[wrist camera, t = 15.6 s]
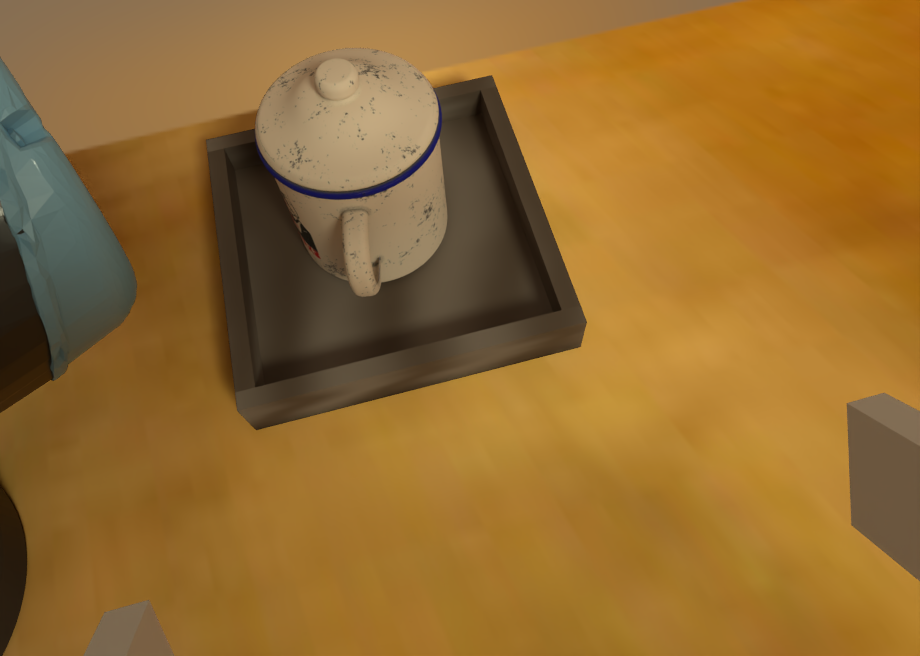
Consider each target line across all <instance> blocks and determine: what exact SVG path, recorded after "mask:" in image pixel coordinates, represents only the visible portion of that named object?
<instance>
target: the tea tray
mask: <svg viewBox="0 0 920 656" xmlns="http://www.w3.org/2000/svg"><path fill="white" fill-rule="evenodd" d="M433 89H434V91H435V93H436V95H437V97H438V99H439V102H440V106H441V111H442V127H441V132H440V136H439V139H440V148H441V157H442V167H443V176H444V185H445V195H446V204H447V227H446V231H445V234H444V237H443V239H442V242H441V244H440V245H439V247H438V249H437V250H436V251H435V253H434V254H433V255H432V256H431V257H430V258H429V260H427V261H426V262H425V263H424V264H423V265H422V266H420V267H419V268H418V269H416V270H414V271H413V272H411V273H409V274H407V275H405V276H403V277H400V278H398V279H395V280H391V281H387V282H381V286H380V289H379V291H378V293H377V294H376V295H373V296H366V297H361V296H358V295H356V294H355V293H354V292H353V290H352V288H351V286H350V284H349V281H347V280H344V279H341V278H338V277H336V276H334V275H332V274H330V273H328V272H327V271H325V270H324V269H323V268H321V267H320V266H319V265H318V264H317V263H316V262H315V261H314V260H313V258H312V257H311V256H310V254H309V253H308V251H307V249H306V247H305V245H304V242H303V240H302V238H301V236H300V233H299V231H298V229H297V227H296V225H295V222H294V220H293V218H292V216H291V213H290V211H289V209H288V207H287V204H286V202H285V200H284V198H283V195H282V193H281V191H280V189H279V186H278V184H277V182H276V180H275V177H274V176H273V175H272V174H271V173H270V172H269V171H268V170H267V168H266V167H265V166H264V164H263V162H262V161H261V159H260V156H259V154H258V151H257V147H256V143H255V129H252V130H248V131H243V132H239V133H234V134H230V135H226V136H221V137H217V138H212V139H208V140H206V144H207V152H208V161H209V170H210V178H211V187H212V196H213V204H214V213H215V222H216V231H217V239H218V248H219V257H220V265H221V274H222V283H223V291H224V300H225V309H226V318H227V326H228V335H229V344H230V352H231V361H232V370H233V378H234V387H235V396H236V404H237V411H238V412H239V413H240V414H241V415H242V416H243V417H244V418H245V419H246V420H247V421H248V422H249V423H250V424H251V425H252V426H253V427H254V428H255V429H256V430H259V429H262V428H266V427H270V426H274V425H278V424H282V423H286V422H290V421H294V420H298V419H301V418H305V417H309V416H313V415H317V414H321V413H325V412H329V411H333V410H336V409H340V408H344V407H348V406H352V405H356V404H360V403H364V402H368V401H372V400H375V399H379V398H383V397H387V396H391V395H395V394H399V393H403V392H407V391H411V390H414V389H418V388H422V387H426V386H430V385H434V384H438V383H442V382H446V381H450V380H453V379H457V378H461V377H465V376H469V375H473V374H477V373H481V372H485V371H488V370H492V369H496V368H500V367H504V366H508V365H512V364H516V363H520V362H524V361H527V360H531V359H535V358H539V357H543V356H547V355H551V354H555V353H559V352H563V351H566V350H570V349H574V348H578V347H581V343H582V339H583V335H584V331H585V327H586V323H587V321H586V319H585V316H584V314H583V311H582V308H581V306H580V303H579V301H578V298H577V295H576V293H575V290H574V288H573V285H572V282H571V280H570V277H569V275H568V272H567V269H566V267H565V264H564V262H563V259H562V256H561V254H560V251H559V248H558V246H557V243H556V241H555V238H554V235H553V233H552V230H551V228H550V225H549V222H548V220H547V217H546V215H545V212H544V209H543V207H542V204H541V202H540V199H539V196H538V194H537V191H536V189H535V186H534V183H533V181H532V178H531V176H530V173H529V170H528V168H527V165H526V163H525V160H524V157H523V155H522V152H521V150H520V147H519V144H518V142H517V139H516V137H515V134H514V131H513V129H512V126H511V124H510V121H509V118H508V116H507V113H506V111H505V108H504V105H503V103H502V100H501V98H500V95H499V92H498V90H497V87H496V85H495V82H494V79H493V77H492V75H491V76H486V77H482V78H478V79H473V80H469V81H464V82H460V83H455V84H451V85H447V86H442V87H438V88H433Z"/></svg>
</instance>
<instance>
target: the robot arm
mask: <svg viewBox="0 0 920 656" xmlns="http://www.w3.org/2000/svg"><path fill="white" fill-rule="evenodd" d="M136 290H137V282H136V277H135V274H134V271H133V268H132V266H131V264H130V262H129V259H128V258H127V256H126V254H125V252H124V250H123V249H122V247H121V245H120V243H119V241H118V240H117V238H116V236H115V234H114V233H113V231H112V229H111V228H110V226H109V224H108V223H107V221H106V219H105V218H104V216H103V214H102V212H101V211H100V209H99V208H98V206H97V204H96V203H95V201H94V200H93V198H92V196H91V195H90V193H89V192H88V190H87V188H86V187H85V185H84V184H83V182H82V181H81V179H80V177H79V176H78V174H77V173H76V171H75V170H74V168H73V166H72V165H71V163H70V162H69V160H68V159H67V157H66V156H65V154H64V153H63V151H62V150H61V148H60V147H59V145H58V144H57V142H56V141H55V140H54V138H53V137H52V136H51V134H50V133H49V132H47V130H45V128H44V127H43V125H42V122H41V119H40V117H39V116H38V114H37V113H36V111H35V110H34V109H33V107H32V106H31V104H30V103H29V101H28V100H27V98H26V97H25V95H24V93H23V91H22V90H21V88H20V86H19V84H18V83H17V81H16V80H15V78H14V77H13V75H12V74H11V72H10V71H9V69H8V68H7V66H6V65H5V63H4V62H3V61H2V59H1V58H0V413H1V412H2V411H4V410H6V409H7V408H9V407H10V406H12V405H13V404H15V403H16V402H18V401H19V400H21V399H22V398H24V397H25V396H27V395H28V394H30V393H31V392H33V391H34V390H36V389H37V388H39V387H40V386H42V385H44V384H45V383H47V382H48V381H50V380H53V381H54V380H56V379H57V378H59V377H60V376H61V375H62V374H64V373H65V372H66V370H67V367H68V364H69V363H71V362H72V361H73V360H75V359H76V358H77V357H78V356H80V355H81V354H82V353H84V352H85V351H86V350H88V349H89V348H90V347H92V346H93V345H94V344H96V343H97V342H98V341H99V340H101V339H102V338H103V337H105V336H106V335H107V334H109V333H110V332H111V331H113V330H114V329H115V328H117V327H118V326H119V325H120V324H121V323H122V322H123V321H124V319H125V318H126V317H127V315H128V314H129V313H130V312H129V311H130V309H131V307H132V305H133V304H134V302H135V298H136ZM847 420H848V446H849V472H850V499H851V525H852V526H853V527H855V528H856V529H857V530H858V531H859V532H861V533H862V534H863V535H864V536H865V537H867V538H868V539H869V540H870V541H872V542H873V543H874V544H875V545H876V546H878V547H879V548H880V549H881V550H882V551H884V552H885V553H886V554H887V555H889V556H890V557H891V558H892V559H893V560H895V561H896V562H897V563H898V564H899V565H901V566H902V567H903V568H904V569H906V570H907V571H908V572H909V573H910V574H912V575H913V576H914V577H915V578H917V579H918V580H919V581H920V411H918V410H916V409H914V408H912V407H910V406H908V405H907V404H905V403H903V402H901V401H899V400H897V399H895V398H893V397H891V396H889V395H888V394H886V393H882V394H878V395H875V396H871V397H868V398H864V399H860V400H857V401H853V402H850V403H847ZM26 571H27V556H26V545H25V538H24V533H23V529H22V526H21V522H20V519H19V517H18V514H17V512H16V510H15V508H14V506H13V504H12V502H11V501H10V499H9V498H8V496H7V495H6V493H5V492H4V491H3V490H2V488H1V487H0V656H2V655H3V653H4V651H5V649H6V647H7V645H8V643H9V640H10V638H11V636H12V633H13V630H14V628H15V625H16V622H17V619H18V616H19V612H20V609H21V604H22V600H23V595H24V590H25V582H26ZM84 656H174V654H173V652H172V650H171V647H170V645H169V643H168V641H167V639H166V636H165V634H164V632H163V630H162V628H161V625H160V623H159V621H158V619H157V617H156V614H155V612H154V610H153V608H152V606H151V603H150V601H149V600H147V601H143V602H140V603H136V604H133V605H129V606H126V607H122V608H119V609H115V610H111V611H108V612H105V613H104V615H103V617H102V619H101V621H100V623H99V625H98V627H97V629H96V631H95V633H94V635H93V637H92V639H91V641H90V643H89V646H88V648H87V650H86V652H85V654H84Z"/></svg>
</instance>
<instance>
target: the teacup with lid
mask: <svg viewBox="0 0 920 656" xmlns="http://www.w3.org/2000/svg"><path fill="white" fill-rule="evenodd" d="M441 127H442V111H441V106H440V102H439V99H438V97H437V95H436V93H435V91H434V89H433V87H432V86H431V84H430V83H429V81H428V80H427V79H426V77H425V76H424V75H423V74H422V73H421V72H420V71H419V70H418V69H416V68H415V67H414V66H413V65H412V64H410V63H408V62H407V61H405V60H403V59H402V58H400V57H397V56H395V55H393V54H390V53H387V52H383V51H379V50H374V49H366V48H365V49H364V48H345V49H337V50H332V51H328V52H324V53H320V54H318V55H315V56H312V57H310V58H307V59H306V60H303V61H301V62H299V63H298V64H296V65H295V66H293V67H291V68H290V69H288V70H287V71H286V72H285V73H283V74H282V75H281V76H280V77H279V78H278V79H277V80H276V81H275V82H274V83H273V84H272V85H271V87H270V88H269V89H268V91H267V92H266V94H265V95H264V97H263V99H262V101H261V104H260V106H259V109H258V112H257V116H256V122H255V143H256V147H257V151H258V154H259V156H260V159H261V161H262V162H263V164H264V166H265V167H266V168H267V170H268V171H269V172H270V173H271V174H272V175H273V176H274V177H275V180H276V182H277V184H278V186H279V189H280V191H281V193H282V195H283V198H284V200H285V202H286V204H287V207H288V209H289V211H290V213H291V216H292V218H293V220H294V222H295V225H296V227H297V229H298V231H299V233H300V236H301V238H302V240H303V242H304V245H305V247H306V249H307V251H308V253H309V254H310V256H311V257H312V258H313V260H314V261H315V262H316V263H317V264H318V265H319V266H320V267H321V268H323V269H324V270H325V271H327V272H328V273H330V274H332V275H334V276H336V277H338V278H341V279H344V280H347V281H349V284H350V286H351V288H352V290H353V292H354V293H355V294H356V295H358V296H361V297H366V296H373V295H376V294H377V293H378V291H379V289H380V286H381V282H387V281H391V280H395V279H398V278H400V277H403V276H405V275H407V274H409V273H411V272H413V271H414V270H416V269H418V268H419V267H420V266H422V265H423V264H424V263H425V262H426V261H427V260H429V258H430V257H431V256H432V255H433V254H434V253H435V251H436V250H437V249H438V247H439V245H440V244H441V242H442V239H443V237H444V234H445V231H446V227H447V204H446V195H445V185H444V176H443V167H442V157H441V148H440V139H439V136H440V132H441Z"/></svg>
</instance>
